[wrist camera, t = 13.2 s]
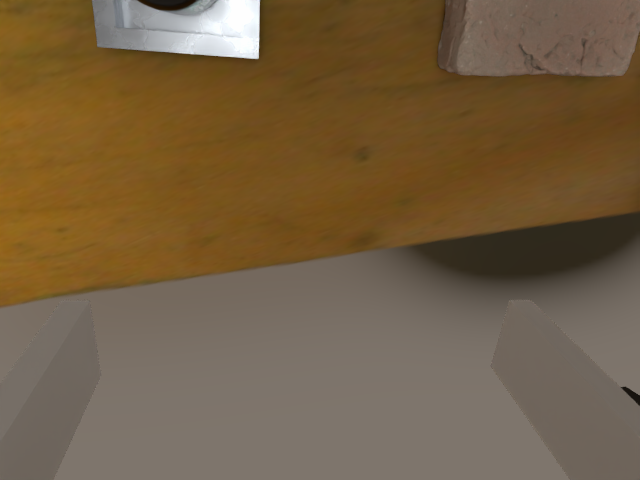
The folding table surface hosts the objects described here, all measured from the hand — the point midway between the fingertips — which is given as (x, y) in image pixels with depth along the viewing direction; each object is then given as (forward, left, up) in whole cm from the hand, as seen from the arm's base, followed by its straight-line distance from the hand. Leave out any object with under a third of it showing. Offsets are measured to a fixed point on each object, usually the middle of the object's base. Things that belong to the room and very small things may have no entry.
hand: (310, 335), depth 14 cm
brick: (-23, -11, -32) cm, 41 cm away
